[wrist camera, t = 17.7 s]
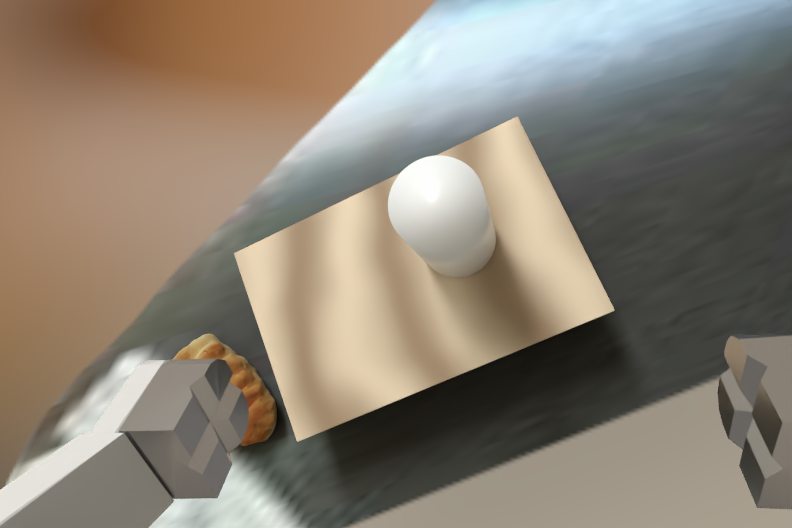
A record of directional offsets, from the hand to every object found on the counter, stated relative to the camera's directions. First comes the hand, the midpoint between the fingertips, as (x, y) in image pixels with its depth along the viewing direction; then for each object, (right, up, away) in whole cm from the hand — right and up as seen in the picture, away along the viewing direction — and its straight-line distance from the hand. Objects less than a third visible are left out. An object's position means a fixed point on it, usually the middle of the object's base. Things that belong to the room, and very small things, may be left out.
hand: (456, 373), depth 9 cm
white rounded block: (+3, +3, +27) cm, 28 cm away
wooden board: (+1, 0, +32) cm, 33 cm away
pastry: (-14, -8, +35) cm, 39 cm away
